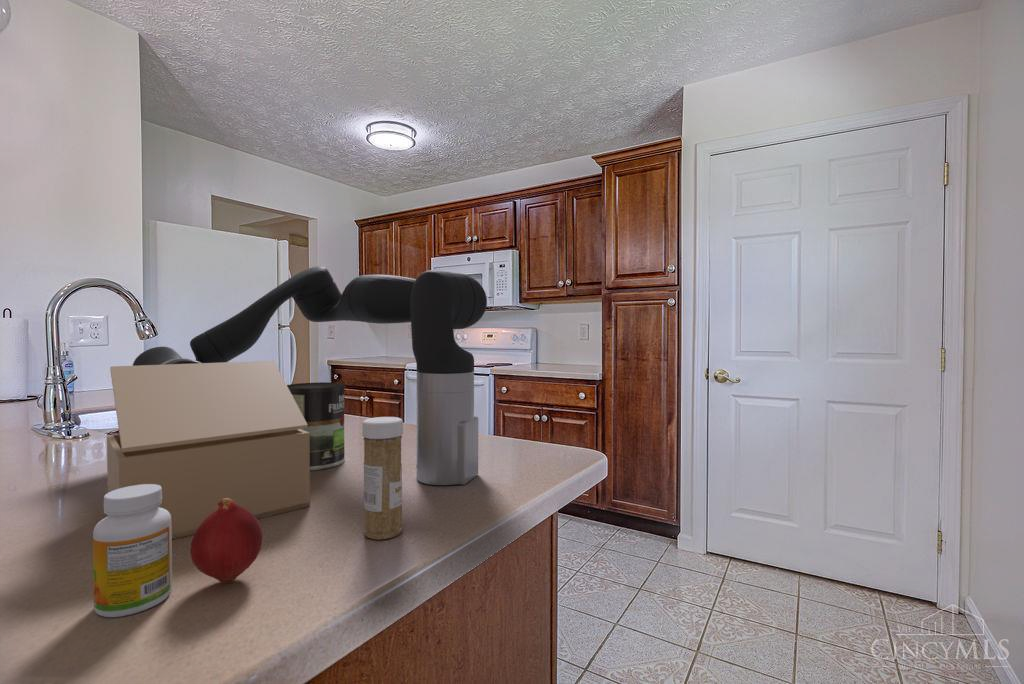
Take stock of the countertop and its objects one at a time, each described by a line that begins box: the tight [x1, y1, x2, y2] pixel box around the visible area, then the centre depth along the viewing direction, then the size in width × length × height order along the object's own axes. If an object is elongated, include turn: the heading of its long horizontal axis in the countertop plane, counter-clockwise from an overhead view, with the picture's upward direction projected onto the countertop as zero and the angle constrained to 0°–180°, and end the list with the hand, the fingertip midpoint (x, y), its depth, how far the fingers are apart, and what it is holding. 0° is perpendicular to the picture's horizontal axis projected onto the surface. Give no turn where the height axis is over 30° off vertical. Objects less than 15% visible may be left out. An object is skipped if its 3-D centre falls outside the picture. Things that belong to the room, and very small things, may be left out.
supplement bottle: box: [92, 484, 173, 618], centre depth 42 cm, size 5×5×10 cm
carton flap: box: [109, 360, 308, 453], centre depth 63 cm, size 16×19×1 cm
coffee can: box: [286, 381, 346, 471], centre depth 87 cm, size 10×10×14 cm
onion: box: [189, 498, 264, 584], centre depth 46 cm, size 6×6×8 cm
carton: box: [106, 429, 311, 541], centre depth 64 cm, size 16×20×10 cm
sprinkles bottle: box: [362, 416, 404, 541], centre depth 57 cm, size 5×5×13 cm
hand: (206, 392), depth 65 cm, fingers closed
